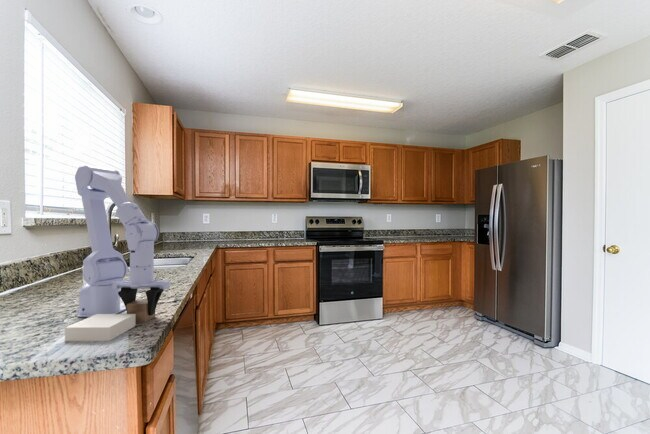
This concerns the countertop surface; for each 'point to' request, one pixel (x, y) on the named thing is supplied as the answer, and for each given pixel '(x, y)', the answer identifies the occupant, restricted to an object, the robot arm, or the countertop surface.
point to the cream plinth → (100, 327)
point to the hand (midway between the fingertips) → (141, 314)
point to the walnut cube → (139, 310)
